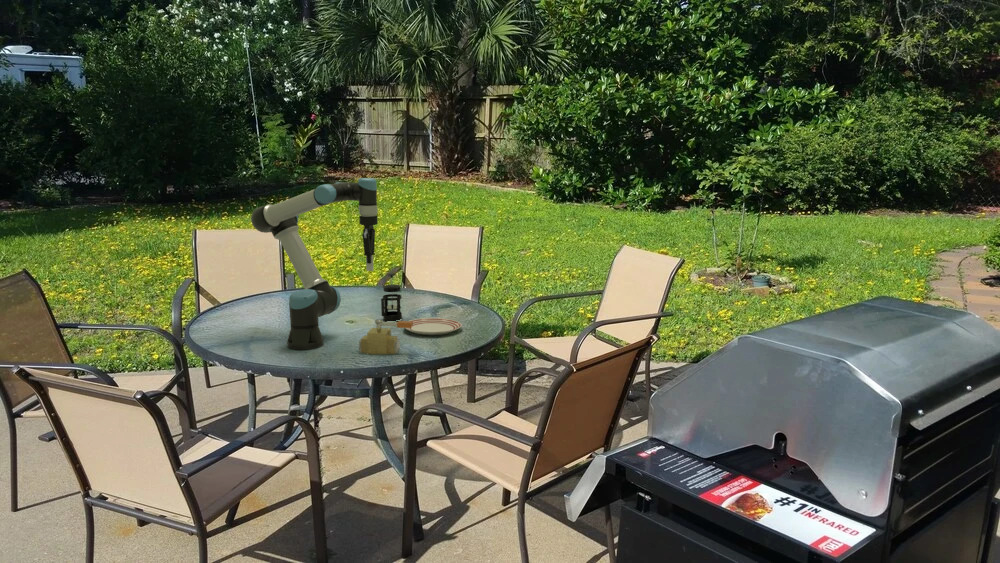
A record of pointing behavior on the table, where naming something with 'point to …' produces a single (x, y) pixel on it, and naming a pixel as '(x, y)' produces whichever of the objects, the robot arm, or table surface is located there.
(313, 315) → the robot arm
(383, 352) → the valve pipe
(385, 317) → the french press
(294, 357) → the table surface
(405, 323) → the valve lever
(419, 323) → the dinner plate
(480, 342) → the table surface
